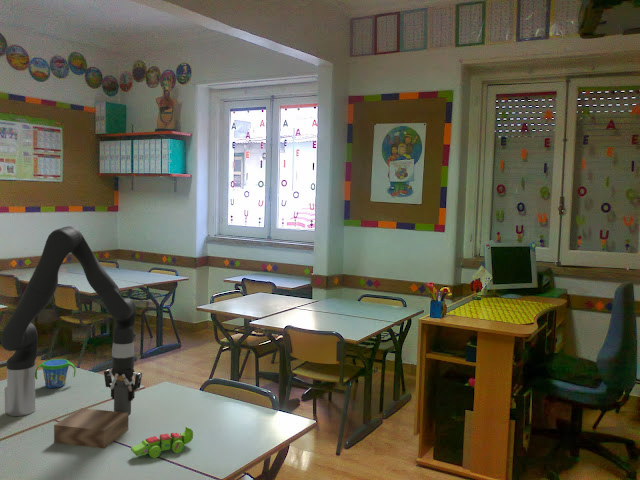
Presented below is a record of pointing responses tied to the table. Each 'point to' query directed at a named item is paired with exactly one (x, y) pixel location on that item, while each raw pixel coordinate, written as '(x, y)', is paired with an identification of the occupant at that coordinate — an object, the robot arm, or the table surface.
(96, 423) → the wooden box
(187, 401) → the table surface
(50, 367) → the snack cup
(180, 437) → the toy crocodile
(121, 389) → the bottle
